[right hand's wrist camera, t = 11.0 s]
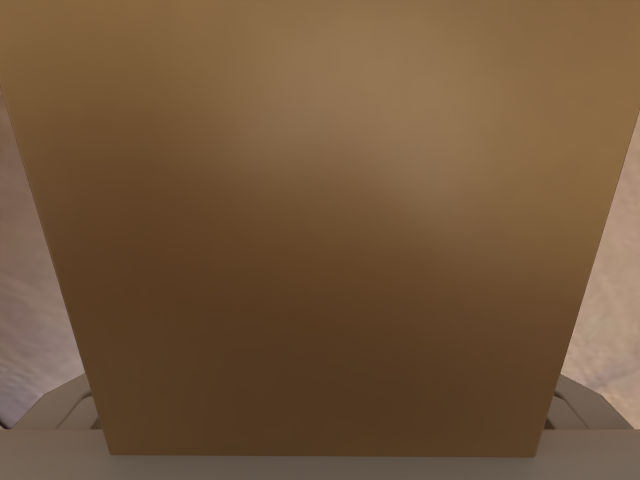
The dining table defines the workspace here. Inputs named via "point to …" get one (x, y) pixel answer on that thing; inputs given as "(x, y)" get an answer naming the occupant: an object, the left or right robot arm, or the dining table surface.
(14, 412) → the dining table surface
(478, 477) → the right robot arm
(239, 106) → the box
